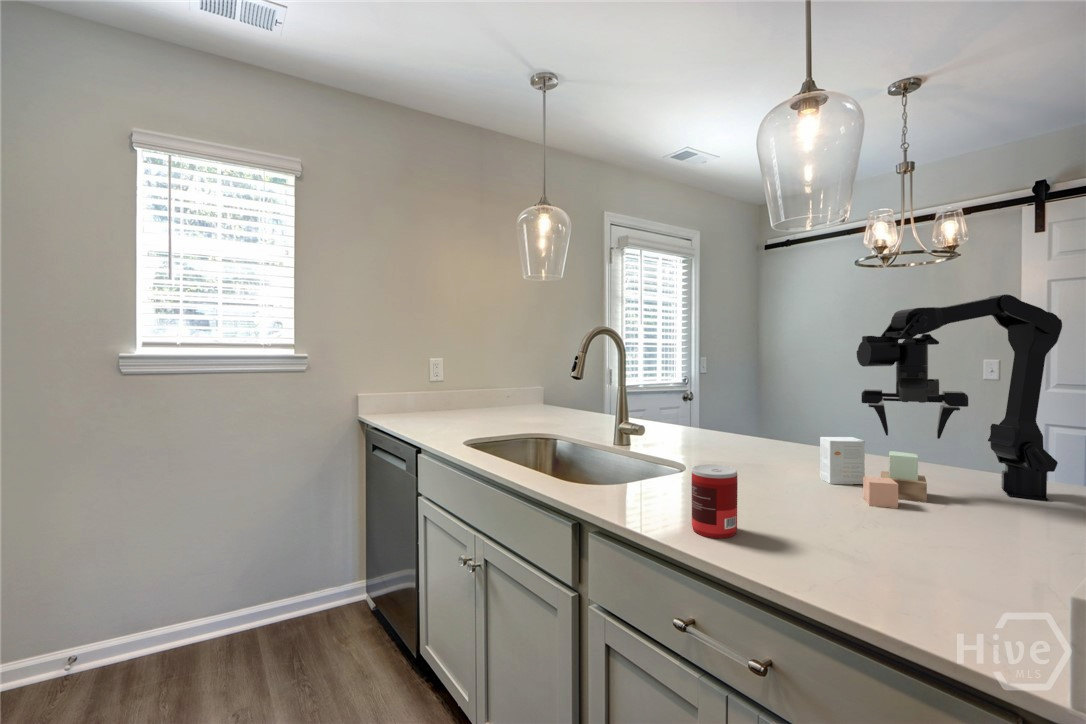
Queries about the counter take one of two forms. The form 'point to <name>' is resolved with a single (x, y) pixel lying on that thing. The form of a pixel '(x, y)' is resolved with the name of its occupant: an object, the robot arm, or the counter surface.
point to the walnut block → (910, 488)
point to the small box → (842, 460)
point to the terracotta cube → (880, 492)
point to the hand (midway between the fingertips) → (912, 436)
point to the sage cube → (903, 465)
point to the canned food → (714, 501)
